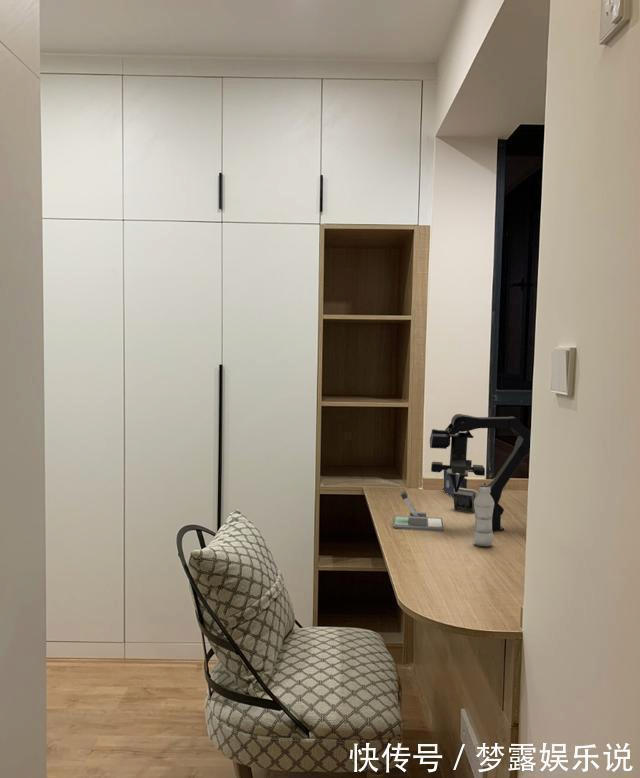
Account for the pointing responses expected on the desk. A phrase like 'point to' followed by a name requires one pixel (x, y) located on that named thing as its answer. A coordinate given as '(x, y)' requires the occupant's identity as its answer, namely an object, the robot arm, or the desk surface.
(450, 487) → the vhs cassette tape
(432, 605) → the desk surface
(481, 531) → the plastic bottle
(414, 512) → the lever
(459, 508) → the electrical switch
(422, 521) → the switch plate
